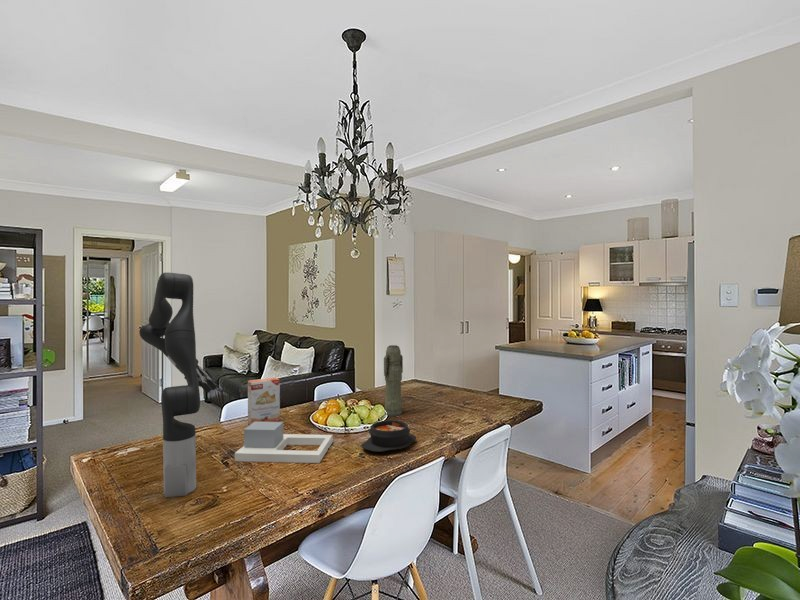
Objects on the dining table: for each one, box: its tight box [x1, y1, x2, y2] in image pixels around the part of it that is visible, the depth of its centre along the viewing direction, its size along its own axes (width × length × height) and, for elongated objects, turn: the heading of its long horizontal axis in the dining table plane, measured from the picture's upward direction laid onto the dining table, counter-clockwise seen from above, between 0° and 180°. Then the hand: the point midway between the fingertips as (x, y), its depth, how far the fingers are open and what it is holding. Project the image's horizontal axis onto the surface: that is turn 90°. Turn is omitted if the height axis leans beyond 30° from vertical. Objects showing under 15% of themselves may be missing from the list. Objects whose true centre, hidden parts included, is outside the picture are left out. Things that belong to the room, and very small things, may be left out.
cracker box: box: [247, 376, 281, 425], centre depth 206 cm, size 14×6×21 cm, turn 125°
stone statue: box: [383, 344, 404, 417], centre depth 220 cm, size 9×12×35 cm
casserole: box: [361, 419, 417, 453], centre depth 174 cm, size 25×19×8 cm
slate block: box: [243, 421, 284, 448], centre depth 169 cm, size 10×12×7 cm
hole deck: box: [234, 433, 334, 464], centre depth 169 cm, size 22×32×3 cm
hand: (212, 389), depth 170 cm, fingers open, 3 cm apart
